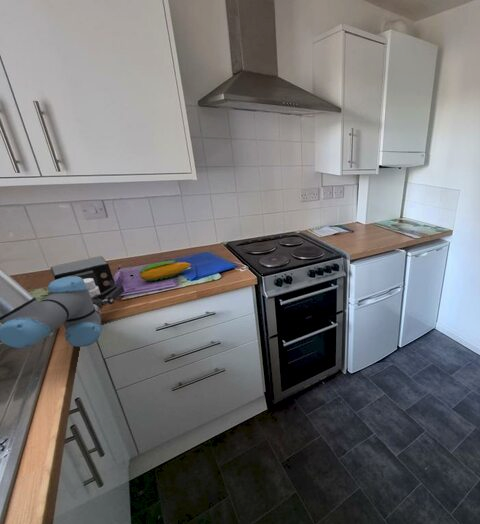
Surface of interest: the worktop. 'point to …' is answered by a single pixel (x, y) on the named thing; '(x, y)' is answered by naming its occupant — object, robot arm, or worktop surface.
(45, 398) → the worktop surface
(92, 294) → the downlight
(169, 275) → the corn
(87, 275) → the toaster oven
